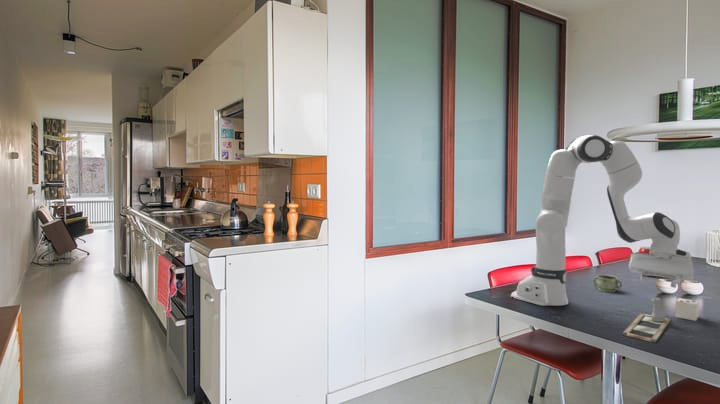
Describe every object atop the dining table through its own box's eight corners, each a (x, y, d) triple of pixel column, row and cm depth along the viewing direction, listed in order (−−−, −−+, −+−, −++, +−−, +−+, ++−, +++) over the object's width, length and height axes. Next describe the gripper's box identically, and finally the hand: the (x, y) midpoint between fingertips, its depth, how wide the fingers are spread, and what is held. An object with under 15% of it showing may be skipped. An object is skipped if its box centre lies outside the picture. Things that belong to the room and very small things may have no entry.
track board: (622, 335, 136) (622, 332, 136) (641, 315, 156) (641, 313, 155) (655, 342, 129) (655, 340, 129) (670, 321, 149) (670, 318, 149)
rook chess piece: (654, 318, 151) (651, 296, 152) (668, 320, 148) (665, 297, 148) (649, 320, 149) (646, 298, 149) (663, 322, 145) (660, 300, 145)
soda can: (637, 275, 220) (638, 247, 219) (637, 272, 226) (639, 246, 226) (655, 277, 215) (656, 249, 215) (655, 274, 222) (656, 247, 221)
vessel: (589, 289, 193) (590, 275, 193) (595, 285, 199) (596, 272, 199) (618, 294, 185) (619, 280, 184) (624, 290, 191) (624, 277, 190)
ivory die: (675, 316, 154) (676, 300, 153) (678, 313, 158) (678, 297, 158) (696, 320, 150) (696, 304, 149) (698, 317, 154) (698, 301, 153)
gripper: (630, 246, 166) (624, 274, 160) (695, 253, 152) (691, 284, 146) (632, 256, 170) (626, 283, 163) (696, 263, 156) (692, 294, 149)
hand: (657, 284), depth 154 cm, fingers open, 8 cm apart
